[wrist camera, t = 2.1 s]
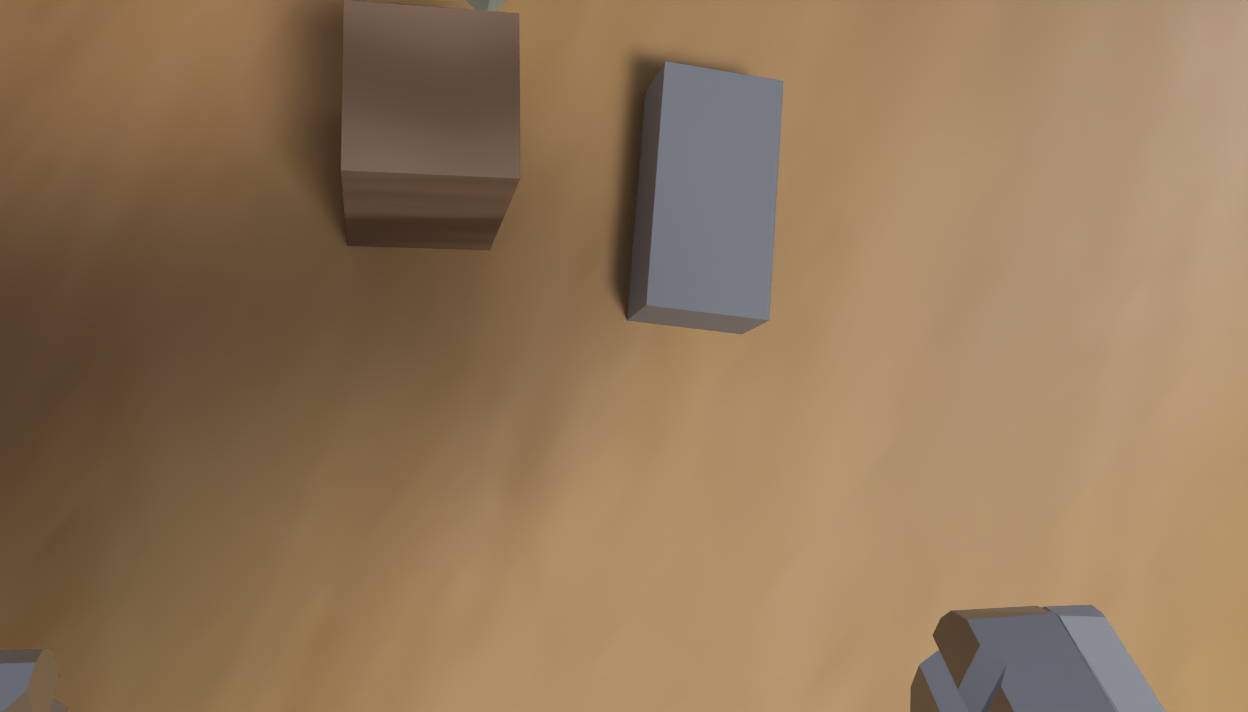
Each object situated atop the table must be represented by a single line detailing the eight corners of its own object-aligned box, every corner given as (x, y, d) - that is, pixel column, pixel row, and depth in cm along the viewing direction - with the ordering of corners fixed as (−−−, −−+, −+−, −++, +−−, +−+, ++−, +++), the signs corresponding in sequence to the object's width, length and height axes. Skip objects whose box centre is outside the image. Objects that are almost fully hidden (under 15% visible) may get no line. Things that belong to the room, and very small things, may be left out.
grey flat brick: (739, 335, 39) (769, 320, 36) (625, 321, 38) (646, 305, 35) (753, 113, 40) (783, 81, 37) (643, 95, 39) (665, 61, 36)
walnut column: (489, 250, 37) (520, 178, 29) (347, 245, 36) (340, 170, 28) (489, 117, 38) (519, 13, 30) (349, 109, 37) (343, 0, 29)
